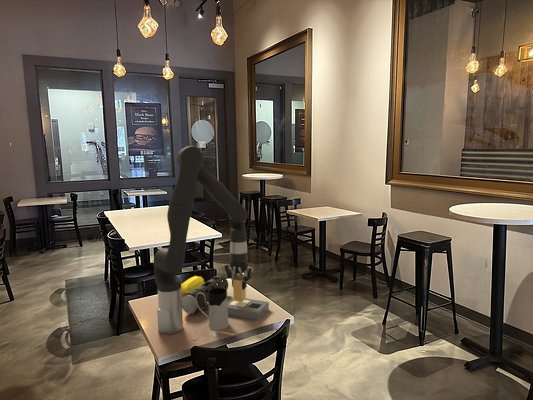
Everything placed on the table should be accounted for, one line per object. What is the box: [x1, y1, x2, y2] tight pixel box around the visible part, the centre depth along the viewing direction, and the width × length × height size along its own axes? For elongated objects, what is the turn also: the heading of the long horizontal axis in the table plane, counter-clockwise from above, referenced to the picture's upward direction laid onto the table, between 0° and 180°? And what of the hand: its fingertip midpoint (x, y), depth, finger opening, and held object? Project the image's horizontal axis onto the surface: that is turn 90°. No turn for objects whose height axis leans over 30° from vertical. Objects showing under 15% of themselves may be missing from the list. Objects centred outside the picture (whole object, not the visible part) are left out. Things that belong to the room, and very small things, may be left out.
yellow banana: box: [181, 275, 205, 297], centre depth 196 cm, size 18×7×8 cm
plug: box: [232, 274, 247, 302], centre depth 169 cm, size 4×4×11 cm
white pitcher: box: [195, 288, 230, 332], centre depth 157 cm, size 9×14×15 cm, turn 77°
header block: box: [228, 297, 270, 322], centre depth 169 cm, size 12×16×4 cm
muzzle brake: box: [182, 274, 229, 314], centre depth 179 cm, size 10×28×10 cm, turn 157°
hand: (239, 288), depth 169 cm, fingers closed on plug, 4 cm apart
